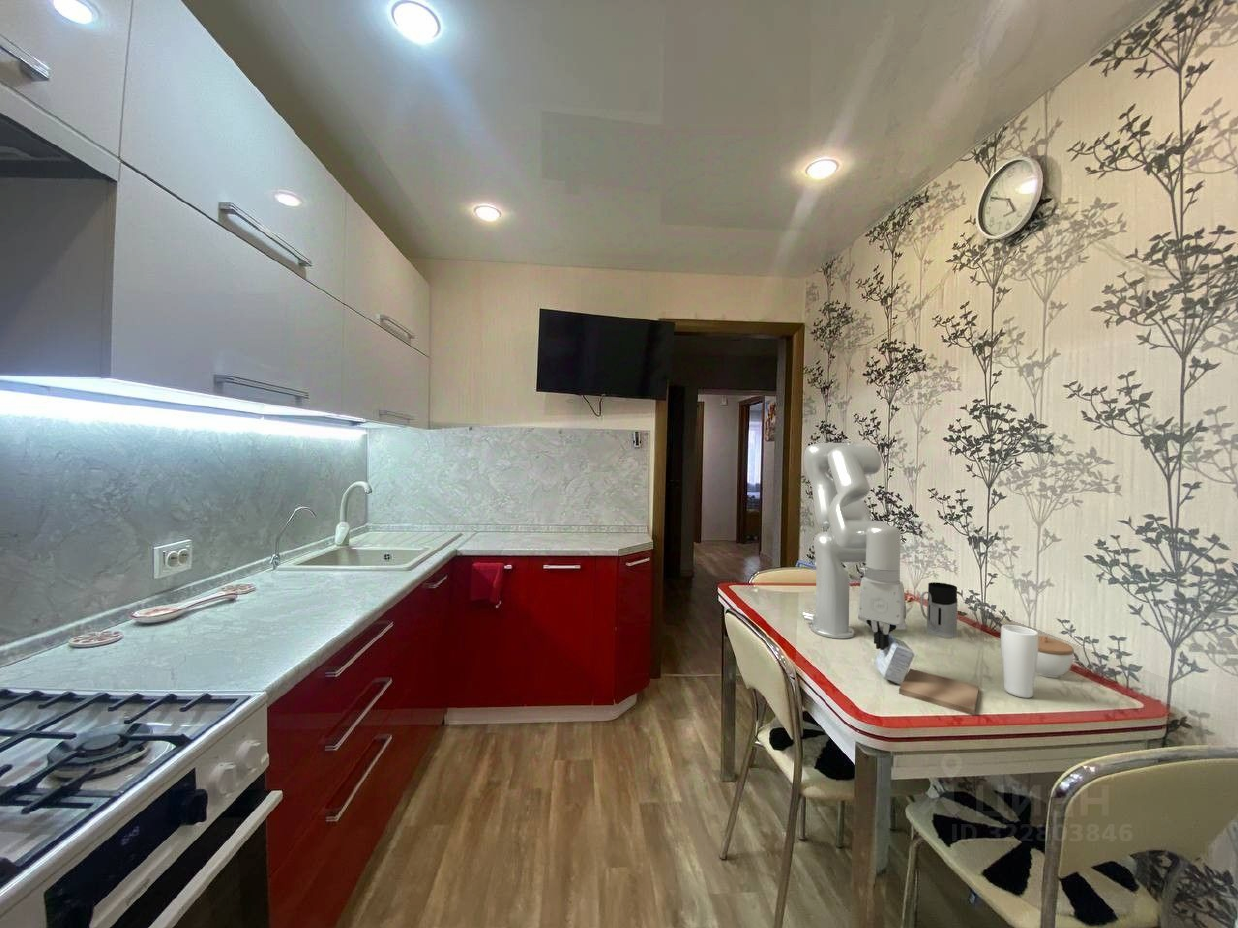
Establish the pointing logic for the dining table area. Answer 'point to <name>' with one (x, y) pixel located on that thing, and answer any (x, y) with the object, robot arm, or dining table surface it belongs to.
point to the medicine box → (894, 660)
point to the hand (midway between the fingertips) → (881, 647)
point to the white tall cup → (1019, 659)
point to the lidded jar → (1053, 657)
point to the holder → (941, 610)
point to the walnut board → (940, 691)
